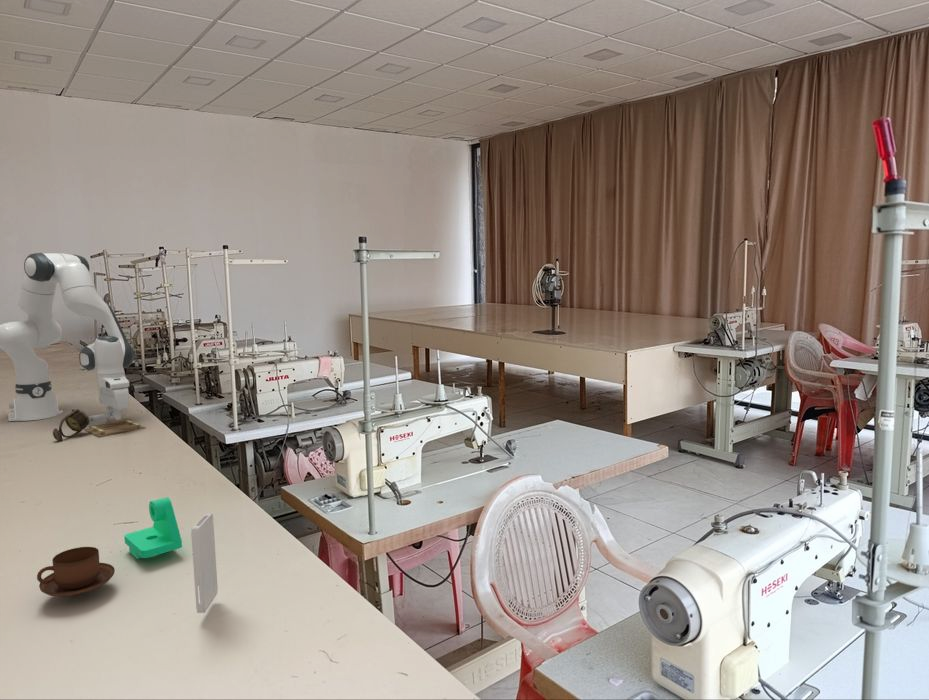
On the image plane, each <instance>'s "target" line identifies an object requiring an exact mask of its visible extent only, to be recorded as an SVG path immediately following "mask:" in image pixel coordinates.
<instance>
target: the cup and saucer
mask: <svg viewBox="0 0 929 700" xmlns="http://www.w3.org/2000/svg"><path fill="white" fill-rule="evenodd" d="M115 569H116V568H115V567H114V565H112V564H110V563H106V562H100V551H99V549H98V548H97V547H95V546H80V547H73V548H70V549H67V550H64V551H62V552H60V553H58V554H55V556H54V557H52V565H49V566H46V567H45V566H44V567H43V568H41V569H40V570H39V571H38V572H37V575H36V580H37V581H38V582H39V585H38V586H39V590H40V591H41V592H42V593H43V594H45V595H47V596H50V597H56V598H57V597H58V598H59V597H60V598H62V597H63V598H65V597H72V596H73V597H74V596H78V595H83V594H87V593H89V592H91V591H94V590H96V589H98V588H100V587H102V586H104V585H105V584H107V583H108V582H109V581H110V580H111V579H112V578H113V577H114V575H115ZM46 571H53V572H52V573H50V574H48V575H47V576H45V577H44V578H43V577H42V575H43V573H45V572H46Z"/></svg>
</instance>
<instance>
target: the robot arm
mask: <svg viewBox="0 0 929 700" xmlns="http://www.w3.org/2000/svg"><path fill="white" fill-rule="evenodd" d="M23 269H24V272H25V273H24V277H23V279H22V284H21V287H20V293H19V298H18V301H17V303H18V306H19V308H20V309H21V310H22V311H23V312H24V313H25V314H27V318H26V320H17V321H9V322H4V323H2V324H0V350H2V351H3V352H5V353H6V354H7V356H8V357H9V358H10V360H11V362H12V364H13V368H14V373H15V380H16V381H15V382H16V383H15V385H14V386H15V387H14V388H15V389H14V390H15V396H14V398H13V401H10V402H9V403H8V409H11V411H10V412H8V413H7V417H8V418H7V419H8V422H18V421H19V422H21V421H23V422H27V421H38V420H45V419H49V418H50V419H51V418H54V417H56V416H58V415H61V414H63V413H64V411H63V410H61V409H59V404H58V396H57V394H56V393H55V392H53V391H52V381H51V380H50V371H49V365H48V361H46V359H44V358H42V357H39V356H38V355H37V354H36V352H35V348H40V347H41V348H42V347H48V346H50V345H54V344H57V343H59V342H60V341H61V339H62V337H63V336H62V335H63V329H62V326H61V325H60V323H59V322H57V321H56V320H55V318H54V316H53V304H54V299H55V294H56V288H57V283H58V284H59V287H60V291H61V295H62V298H63V302H64V304H65V306H66V307H67V309H68V310H69V311H71V312H72V313H74V314H77V315H79V316H82V317H87V318H91V319H93V320H95V321H98V322H99V323H100V324H101V325H103V328H104V330H105V332H106V333H107V335H101V336H98V337H97V338H96V339H95V341H94V342H93V343H91V344H89V345H85V346H84V347H83V348H82V349H80V352H79V354H78V355H79V357H78V359H79V365H80V367H82V369H85V370H86V371H91V372H92V371H93V372H94V371H97V373H96V377H97V387H98V401H99V403H100V404H102V405H105V406H106V409H107V413H108V418H110V419H112V418H114V420H115V421H117V420H118V421H119V420H121V418H122V415H121V414H122V410H126V409H128V408H129V406H130V395H129V387H130V381H129V380H128V379H127V378H126V373H125V369H127V368H129V367H130V366H131V365H132V363H133V362H134V360H135V358H136V357H135V356H136V355H135V351H134V348H133V346H132V345H131V344H130V341H128V339H127V337H126V335H125V333H124V331H123V328H122V326H121V324H120V322H119V320H118V318H117V316H116V314H115V311H114V310H113V308H112V307H111V305H110V304H109V303H108V302H106V301H104V299H102V297H101V296H100V295H99V293H98V292H97V289H96V286H95V282H94V280H93V277H92V275H91V273H90V269H91V268H90V263H89V262H88V260H87V259H86V258H85V257H84V256H81V255H77V254H70V253H62V252H56V253H55V252H51V253H50V252H49V253H48V252H46V253H42V252H35V253H31V254H28V256H27V257H26V258H25V260H24V264H23Z"/></svg>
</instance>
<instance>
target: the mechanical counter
mask: <svg viewBox="0 0 929 700" xmlns="http://www.w3.org/2000/svg"><path fill="white" fill-rule="evenodd" d="M64 422H65V423H66V425H67V427H68V428H69V429H70V430H72V431H73V432H75V433H73V434H71V435H65V434H64V433H63V429H62V428H63V424H64ZM89 422H90V420H89V416H88V415H87V413H85V412H84V411H83V410H80V409H78V408H75V409H74V408H73V409H71V412H70V413H68V414H67V415H65V416H64V417H63V418H62V419H61V420H60V423H59V425H58V428H56V427H55V428H54V429H52V435H53V438H54V439H55V440H56V441H58V442H62V441H63V438H67V439H68V438H69V439H70V438H73V437H76V435H78V434H79V433H81V432H82V431H84V429H87V426H88V425H90V424H89Z"/></svg>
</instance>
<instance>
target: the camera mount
mask: <svg viewBox="0 0 929 700" xmlns="http://www.w3.org/2000/svg"><path fill="white" fill-rule="evenodd" d="M148 511H149V517H150V519H151V521H152V522H153V525H152V526H149V527H147V528H143V529H140V530H136V531H135V530H134V531H133V532H129V533H126V534H124V535H123V536H124V544H126V545H127V546H128V551H129V553H130V554H131V555H132V556H134V557H135V558H136V559H140V558H142V559H147V558H151V557H154V556H157V555H162V554H164V553H167V552H171V551H174V550H177V549H181V548H183V541H182V540H183V539H182V536H181V533H180V530H179V526H178V522H177V519H176V515H175V511H174V507H173V504H172V501H171V498H169V497H163V498H158V499H154V500H151V501H149V504H148Z"/></svg>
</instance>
